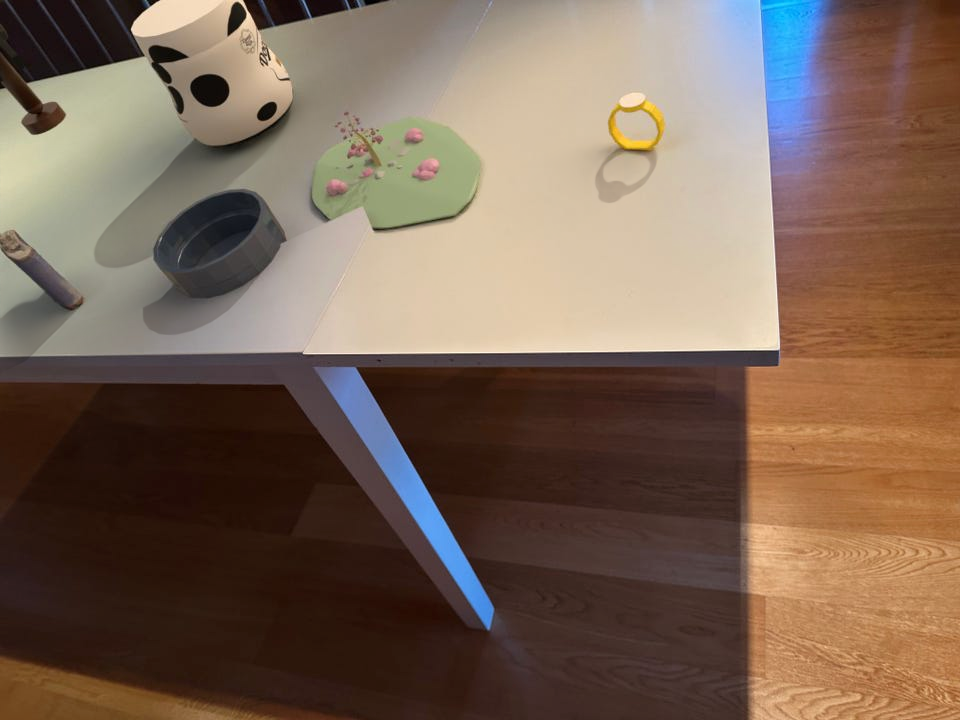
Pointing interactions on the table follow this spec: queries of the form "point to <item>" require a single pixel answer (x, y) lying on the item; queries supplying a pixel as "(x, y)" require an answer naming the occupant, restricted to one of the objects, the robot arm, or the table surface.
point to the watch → (634, 104)
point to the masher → (30, 102)
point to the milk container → (215, 68)
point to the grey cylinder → (39, 270)
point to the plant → (397, 173)
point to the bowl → (218, 243)
